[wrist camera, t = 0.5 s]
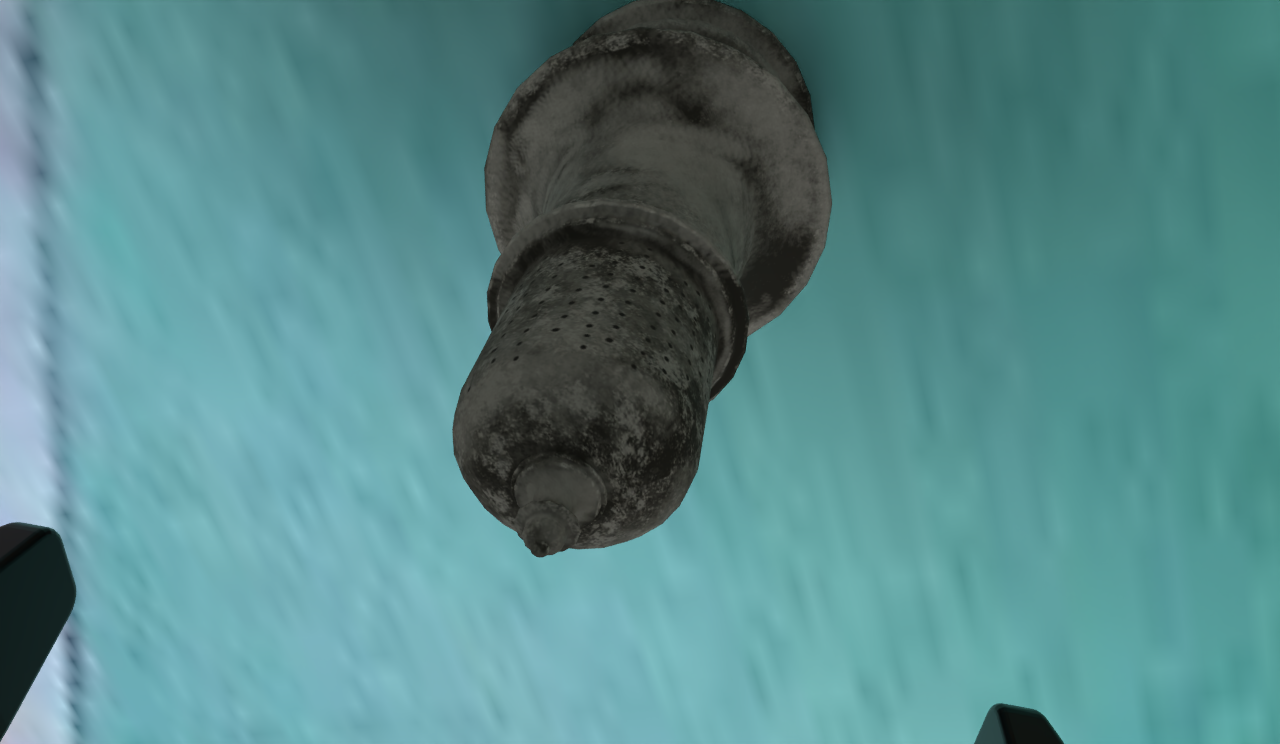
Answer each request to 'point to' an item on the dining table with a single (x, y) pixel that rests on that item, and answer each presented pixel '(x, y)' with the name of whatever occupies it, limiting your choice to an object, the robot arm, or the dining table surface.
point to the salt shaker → (633, 264)
